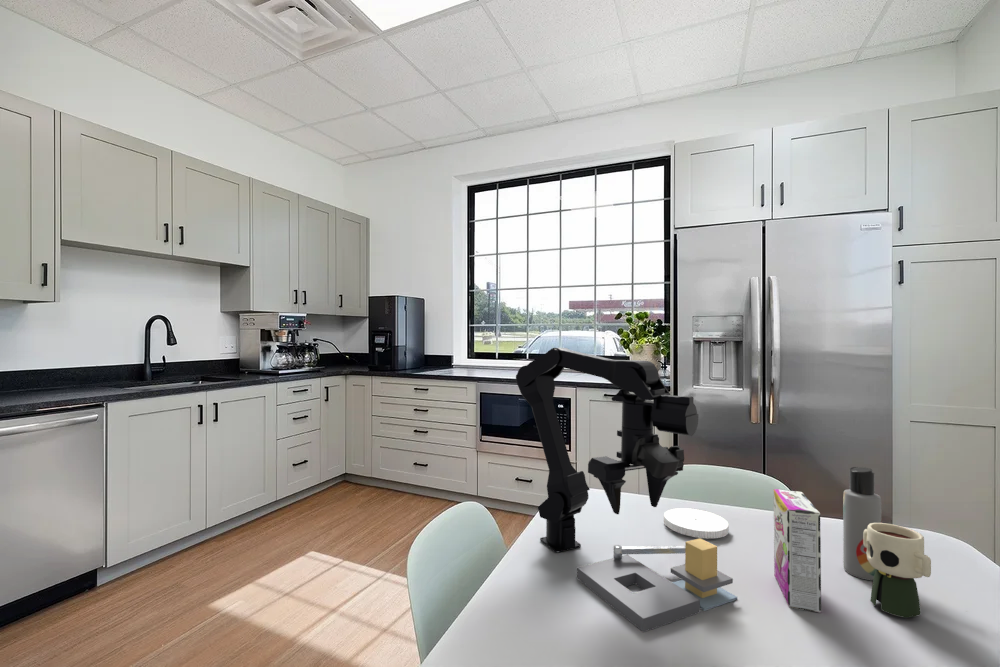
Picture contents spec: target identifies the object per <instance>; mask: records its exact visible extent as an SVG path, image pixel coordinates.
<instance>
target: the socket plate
mask: <svg viewBox="0 0 1000 667" xmlns="http://www.w3.org/2000/svg"><path fill="white" fill-rule="evenodd" d="M576 579H577V580H578V581H580V583H582V584H583V585H585V587H587V588H588V589H589V590H591V591H592V592H593V593H594V594H596V595H597V596H598V597H599V598H600V599H601V600H603V601H604V602H606V603H607V604H608V605H609V606H611V607H612V608H613V609H614V610H615V611H616V612H618V613H619V614H620V615H622V616H623V617H624V618H625V619H626V620H628V621H629V622H630V623H631V624H632V625H633V626H635V627H636V628H637V629H639V630H640V631H641V632H642V631H643V632H642V633H645V632H647V631H650V630H653V629H657V628H660V627H662V626H665V625H667V624H668V625H669V624H670V623H671V624H672V623H673V622H676V621H679V620H682V619H685V618H687V617H690V616H694V615H696V614H700V613H701V608H700V600H699V599H698V598H696V597H695V596H693V595H691V594H690V593H688V592H687V591H685V590H683V589H682V588H680V587H679V586H677V585H675V584H674V583H672V581H670V580H669V579H668V578H666V577H664V576H662V575H661V574H659V573H657V571H654V570H653V569H651V568H650V567H648V566H647V565H645V564H644V563H642V562H641V561H638V560H637V559H635V558H634V557H633V556H630V554H623V555H622V560H620V561H618V560H615V559H614V557H613V558H609V559H604V560H600V561H596V562H592V563H591V562H590V563H588V564H584V565H580V566H576ZM634 585H636V586H638V587H639V588H641V590H639V591H636V592H633V591H631V590H630V589H629V588H627V587H629V586H634Z"/></svg>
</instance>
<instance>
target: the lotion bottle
mask: <svg viewBox="0 0 1000 667" xmlns="http://www.w3.org/2000/svg"><path fill="white" fill-rule="evenodd" d="M873 471H874V470H873V469H872V468H869V467H866V466H865V467H863V466H862V467H859V466H853V467H850V468H849V472H848V473H849V476H848V477H849V480H848V481H849V489H845V490H844V491H843V495H842V496H843V498H842V501H843V504H842V506H843V507H842V509H843V510H842V511H843V512H842V514H843V515H842V516H843V517H842V518H843V519H842V520H843V521H842V524H843V525H842V526H843V527H842V528H843V529H842V530H843V531H842V532H843V535H842V536H843V538H842V540H843V544H842V546H843V547H842V550H843V552H842V554H843V555H842V556H843V558H842V559H843V560H842V563H843V564H842V566H843V569H844V570H845V572H846V573H848V574H850V575H851V576H853V577H855V578H859V579H863V580H865V581H866V580H867V581H873V579H874V574H875V571H876V570H877V569H875V568H874V567H872V566H871V564H870V563H869V561H868V559H867V554H866V552H867V548H866V547H865V546H864V544H863V532H864V530H865V529H867V527H868V525H869V524H870V523H882V498H881V496H880V495H878V494H877V493H875V492H876V488H875V487H876V485H875V484H876V473H875V472H873Z"/></svg>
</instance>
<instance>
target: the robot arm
mask: <svg viewBox="0 0 1000 667" xmlns="http://www.w3.org/2000/svg"><path fill="white" fill-rule="evenodd" d="M565 369H568V370H571V371H576V372H579V373H583V374H587V375H591V376H594V377H597V378H598V377H599V378H602V379H604V380H606V381H608V382H609V383H610V384H612V385H613V386H615V387H617V388H620V389H619V391H618V392H617V393H616V394H614V395H613V396H612V397H611V401H612V402H619V403H621V404H622V406H621V429H617V431H616V436H618V437H619V438H621V444H620V446H621V448H620V451H616V458H619V459H620V460H617V459H615V458H611V457H610V456H609V457H608V455H607V456H606V455H605V456H597V457H591V459H590V460H589V461H588V464H587V473H588V474H591V475H593V477H594V478H596V479H597V480H599V483H600V484H601V487H602V488H603V490H604V493H605V495H606V497H607V500H608V502H609V504H610V507H611V509H612V512H613V513H614V514H615V515H619V514H620V508H621V499H622V498H621V495H622V491H621V490H622V487H623V485H625V484H626V482H627V480H624V479H623V478H624V477H625V475H626V472H629V471H635V470H641V469H645V473H646V481H647V489H648V498H649V502H650V506H651V507H653V508H657V507H658V505H659V502H660V498H661V496H662V495H663V492H664V489H665V486H666V484H667V483H668V481H669V480H671V478H673V477H675V476H677V475H678V474H679V472H681V471H684V461H685V451H684V450H685V449H684V448H683V447H681V446H679V445H672V446H669V447H668V446H662V445H661V444H660V436H659V434H656V433H654V427H655V428H656V430H658V431H659V432H664V433H671V434H677V435H683V436H688V437H693V436H694V435H695V434H696V431H697V428H698V424H699V413H698V410H697V406H696V405H695V403H694V396H691V395H673V394H671V393H670V391H669V390H668V388H667V387H666V385H665V384H664V383H663V381H662V379H661V377H660V374H659V370H658V368H657V367H656V365H655V364H654V363H653V362H651V361H649V360H640V359H639V360H636V359H635V360H634V359H633V360H632V359H627V360H626V359H611V358H607V357H603V356H600V355H599V356H598V355H594V354H589V353H586V352H580V351H577V350H572V349H569V348H567V347H553V348H551V349H549V350H548V351H546V353H544V354H543V355H541V356H539V357H537V358H536V359H534V360H532V361H531V362H529V363H528V364H527V365H523V366H521V367H520V368H519V369H518V370H517V373H516V375H515V381H516V385H517V388H518V389H519V392H520V394H521V396H522V397H523V398H524V400H525V401H526V402H527V403H528V405H529V406H530V407H531V409H532V413H533V416H534V420H535V423H536V428H537V432H538V435H539V439H540V443H541V446H542V450H543V453H544V458H545V459H546V464H547V467H548V477H547V482H546V483H547V484H546V491H547V499H545V500H544V501H543V502H542V503H541V504H540V505H538V506H537V510H538V513H539V517H540V518H542V519H544V520H546V527H545V528H546V530H545V531H546V532H545V533H546V536H542V537H540V539H539V541H540V542H542V543H543V544H544V545H545V546H547V547H548V548H549V549H551V550H552V551H553V552H555V553H560V552H564V551H569V550H573V549H578V548H581V547H582V544H581V543H580V542H579V541H577V540H576V518H575V515H578V514H580V513H581V512H582V509H583V507H585V505H586V504H587V501H588V500H589V491H590V487H589V486H588V483H587V481H586V476H585V475H586V474H585V473H584V471H583V470H581V471H579V472H578V471H577V470H576V469H575V468H574V467H573V465H572V463H571V459H570V456H569V453H568V449H567V446H566V445H567V444H566V443H565V439H564V435H563V431H562V429H561V425H560V421H559V419H558V418H559V417H558V414H557V411H556V408H555V405H554V395H555V391H556V390H555V389H556V385H555V380H556V379H557V378H558V377H560V375H562V372H563V371H564V370H565Z"/></svg>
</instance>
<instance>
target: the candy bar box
mask: <svg viewBox="0 0 1000 667" xmlns="http://www.w3.org/2000/svg"><path fill="white" fill-rule="evenodd" d="M821 542H822V541H821V513H820V511H819V510H818V509H817V508H816V507H815V505H814V504H813V503H812V502H811V501H810V500H809V498H808V497H807V496H806V495H805V494H804V492H802V491H799V490H798V491H797V490H790V489H788V490H787V489H782V488H780V489H779V488H777V489H775V488H774V489H773V558H774V560H773V562H774V563H773V564H774V565H773V566H774V568H773V571H774V572H773V574H774V577H775V579H776V581H777V584H778V586H779V589H780V591H781V592H782V595H783V597H784V599H785V602H786V604H787V606H788V607H789V608H791V609H796V610H803V611H808V612H809V611H810V612H813V613H820V614H821V613H822V565H821V564H822V562H821V561H822V560H821V559H822V557H821V555H822V554H821V553H822V552H821V550H822V548H821V547H822V545H821V544H822V543H821Z"/></svg>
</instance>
